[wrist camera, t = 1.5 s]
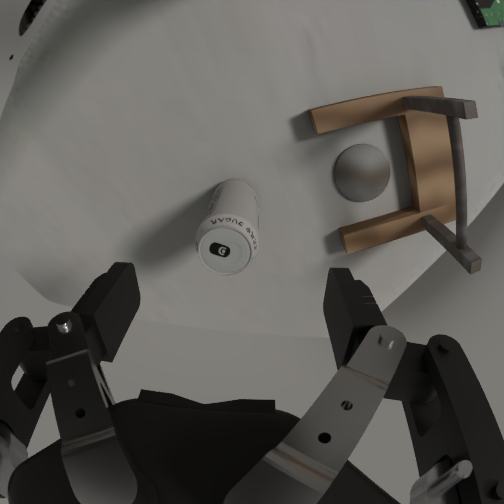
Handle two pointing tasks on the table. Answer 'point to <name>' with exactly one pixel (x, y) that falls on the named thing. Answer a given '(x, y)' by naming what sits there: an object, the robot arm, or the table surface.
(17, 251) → the table surface
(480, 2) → the disk drive
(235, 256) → the energy drink can
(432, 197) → the wooden crossbar stand
